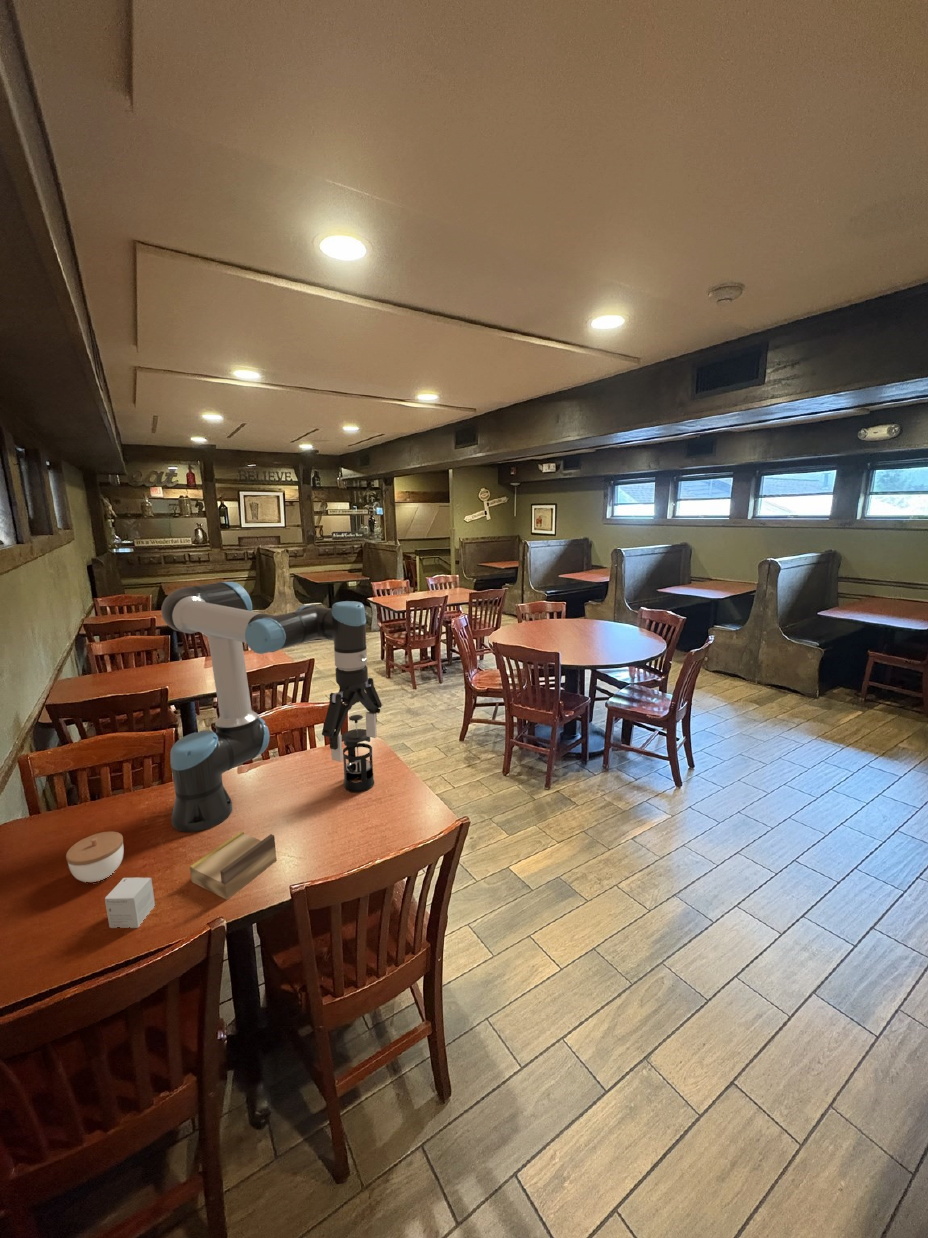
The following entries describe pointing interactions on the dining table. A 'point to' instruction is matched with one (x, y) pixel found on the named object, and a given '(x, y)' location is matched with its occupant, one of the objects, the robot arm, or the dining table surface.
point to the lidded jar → (96, 856)
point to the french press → (357, 760)
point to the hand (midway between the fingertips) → (355, 747)
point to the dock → (234, 864)
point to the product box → (130, 902)
